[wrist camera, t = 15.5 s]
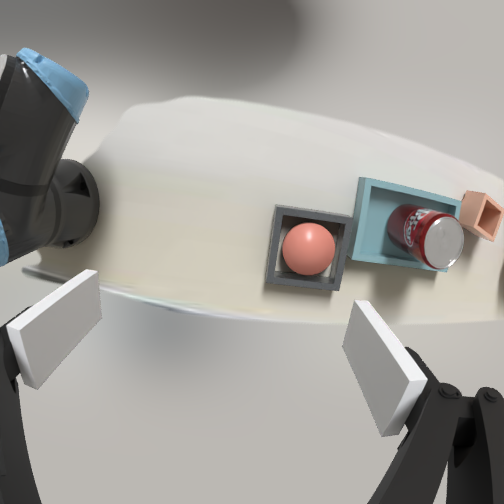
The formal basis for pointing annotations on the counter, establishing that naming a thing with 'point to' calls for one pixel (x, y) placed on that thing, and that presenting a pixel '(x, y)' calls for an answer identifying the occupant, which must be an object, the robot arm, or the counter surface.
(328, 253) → the salmon round part
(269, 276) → the cradle
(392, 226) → the soda can
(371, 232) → the trough
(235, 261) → the counter surface
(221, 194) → the counter surface
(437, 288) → the counter surface
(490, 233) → the cup
